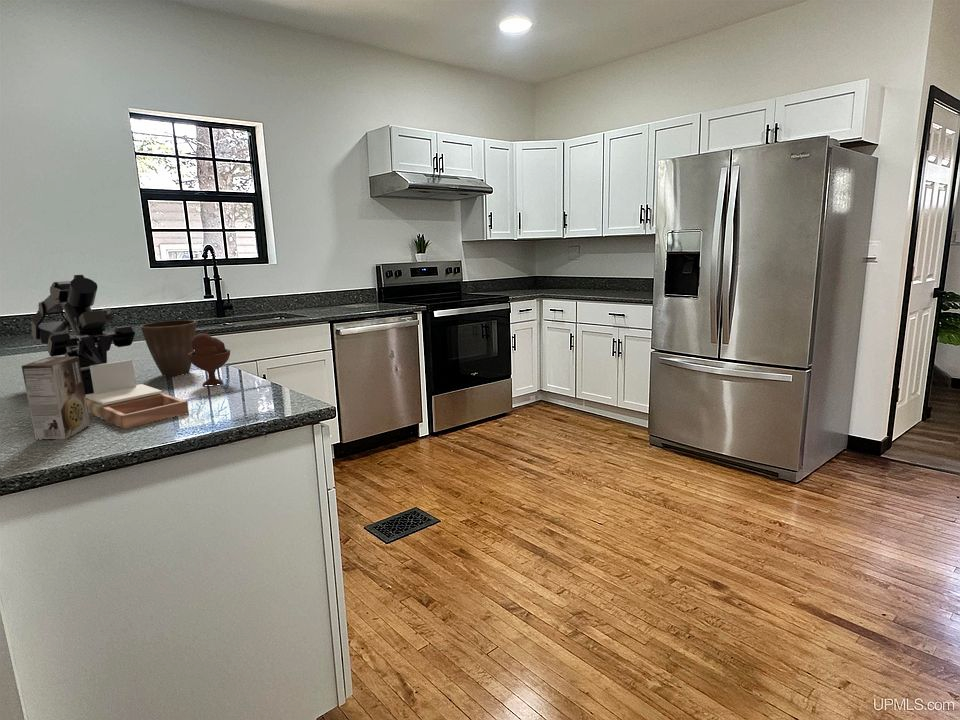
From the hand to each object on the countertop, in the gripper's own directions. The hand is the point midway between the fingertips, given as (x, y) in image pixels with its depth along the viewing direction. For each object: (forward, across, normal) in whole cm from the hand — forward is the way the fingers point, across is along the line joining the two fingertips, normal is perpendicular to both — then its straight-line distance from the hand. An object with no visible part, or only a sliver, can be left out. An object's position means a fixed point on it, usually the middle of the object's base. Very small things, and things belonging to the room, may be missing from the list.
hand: (105, 365), depth 144 cm
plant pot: (-6, +25, +20) cm, 33 cm away
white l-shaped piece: (+11, 0, -3) cm, 11 cm away
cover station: (+18, 0, -5) cm, 18 cm away
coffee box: (+20, -16, -7) cm, 27 cm away
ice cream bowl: (+10, +25, +4) cm, 27 cm away
